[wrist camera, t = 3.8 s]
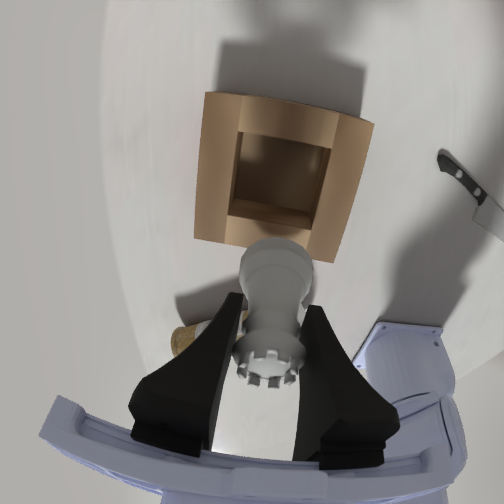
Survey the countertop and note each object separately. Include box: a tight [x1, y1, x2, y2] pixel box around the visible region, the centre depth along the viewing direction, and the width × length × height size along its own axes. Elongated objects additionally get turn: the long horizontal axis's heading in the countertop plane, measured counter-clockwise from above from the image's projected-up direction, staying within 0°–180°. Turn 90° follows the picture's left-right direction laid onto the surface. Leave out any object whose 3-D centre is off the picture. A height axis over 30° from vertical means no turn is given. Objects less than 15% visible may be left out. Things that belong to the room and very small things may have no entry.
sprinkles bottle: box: [171, 303, 306, 359], centre depth 27 cm, size 5×4×14 cm
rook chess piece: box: [231, 237, 313, 390], centre depth 14 cm, size 4×4×8 cm
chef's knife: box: [437, 154, 504, 242], centre depth 19 cm, size 19×1×3 cm
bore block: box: [194, 91, 374, 263], centre depth 19 cm, size 10×10×4 cm
